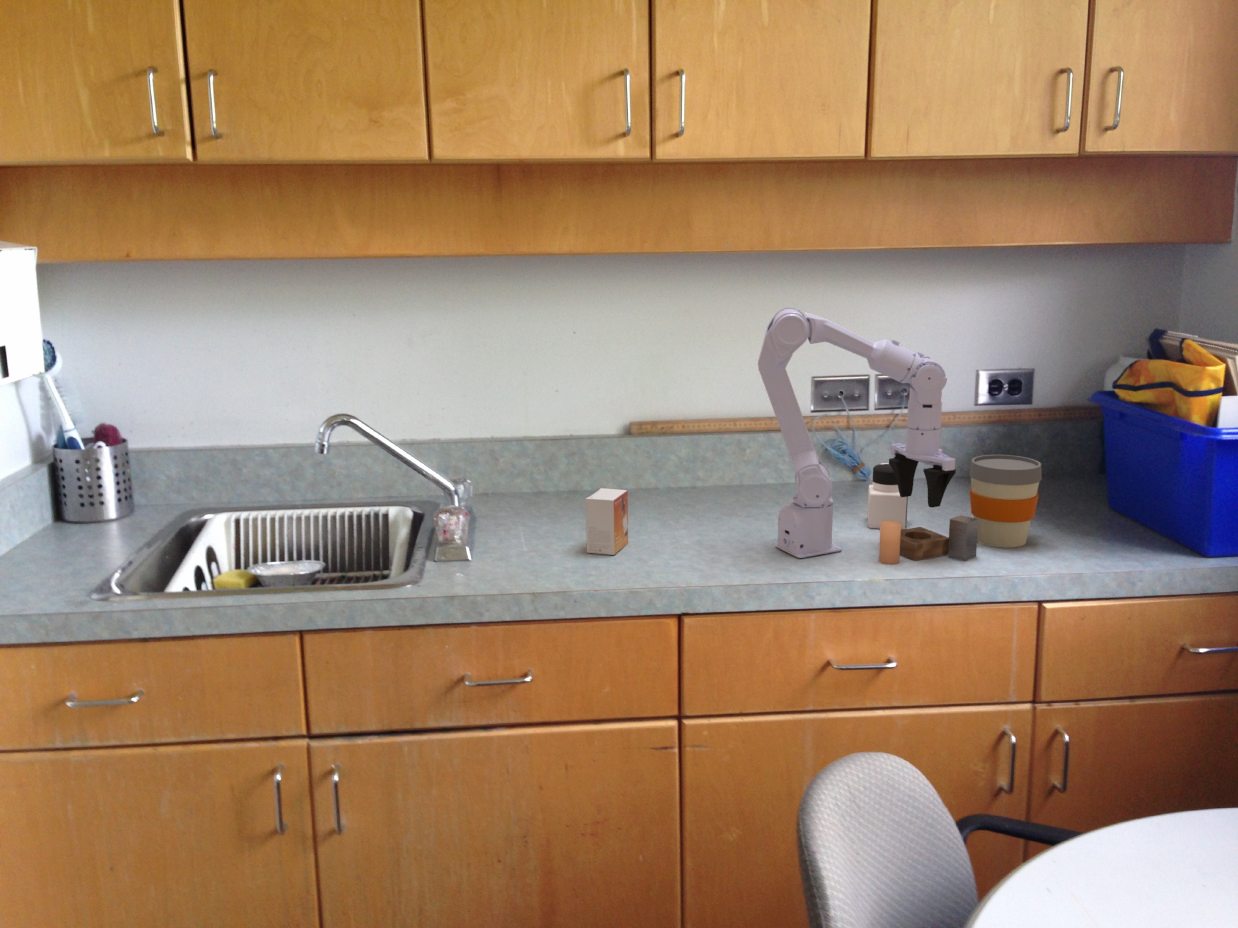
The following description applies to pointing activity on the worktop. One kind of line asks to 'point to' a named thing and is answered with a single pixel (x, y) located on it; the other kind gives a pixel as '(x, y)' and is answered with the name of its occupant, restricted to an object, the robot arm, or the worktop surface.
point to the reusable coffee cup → (1004, 498)
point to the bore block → (922, 543)
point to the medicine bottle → (885, 498)
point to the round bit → (889, 542)
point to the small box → (607, 521)
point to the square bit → (963, 537)
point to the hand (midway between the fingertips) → (919, 501)
